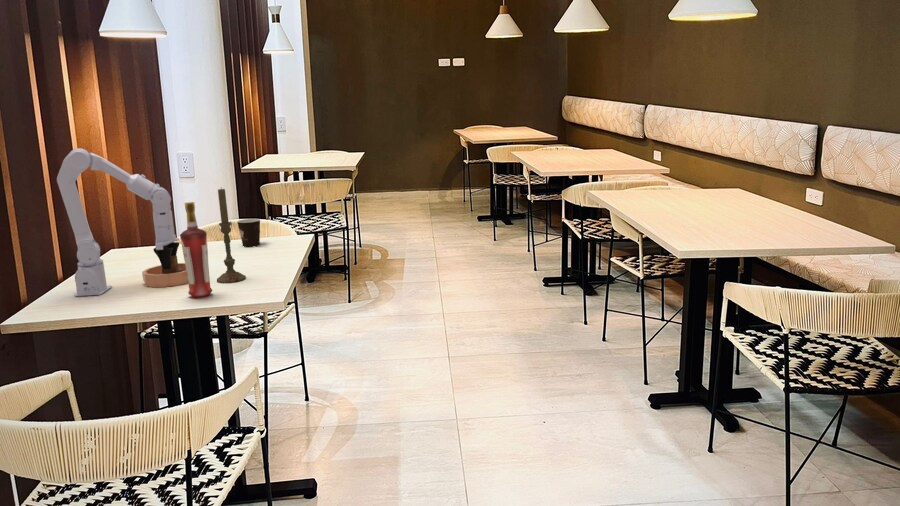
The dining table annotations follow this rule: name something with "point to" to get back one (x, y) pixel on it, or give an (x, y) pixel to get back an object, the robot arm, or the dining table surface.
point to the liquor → (195, 255)
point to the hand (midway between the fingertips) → (169, 267)
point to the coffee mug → (249, 232)
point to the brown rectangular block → (172, 266)
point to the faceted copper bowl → (165, 277)
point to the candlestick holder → (227, 243)
